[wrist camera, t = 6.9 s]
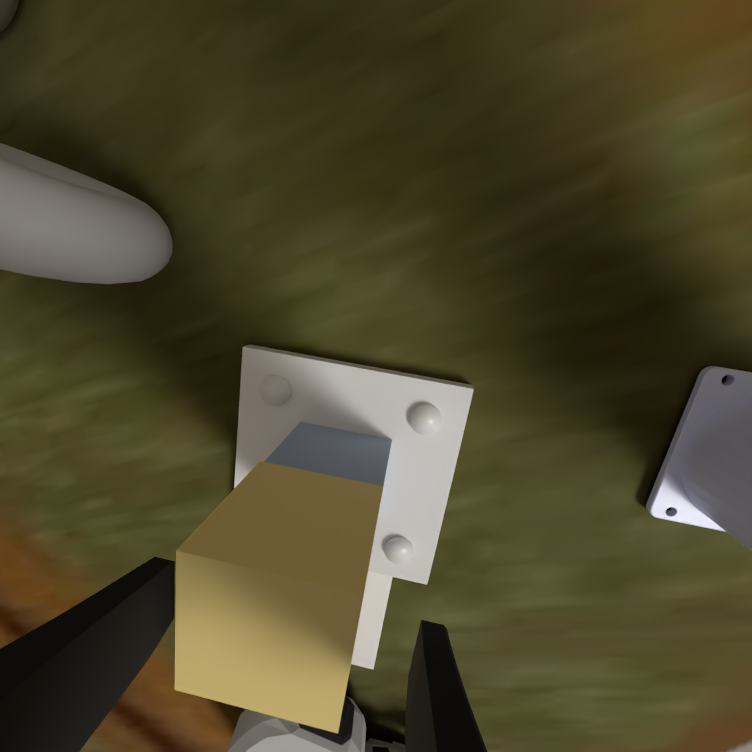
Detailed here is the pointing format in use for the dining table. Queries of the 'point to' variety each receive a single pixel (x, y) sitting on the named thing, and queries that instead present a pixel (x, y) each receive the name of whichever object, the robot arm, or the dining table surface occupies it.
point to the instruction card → (371, 619)
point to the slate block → (334, 453)
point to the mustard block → (276, 594)
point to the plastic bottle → (7, 12)
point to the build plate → (371, 417)
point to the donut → (75, 225)
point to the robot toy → (305, 734)
